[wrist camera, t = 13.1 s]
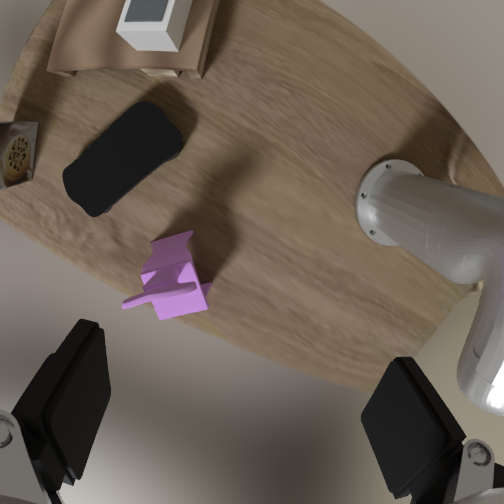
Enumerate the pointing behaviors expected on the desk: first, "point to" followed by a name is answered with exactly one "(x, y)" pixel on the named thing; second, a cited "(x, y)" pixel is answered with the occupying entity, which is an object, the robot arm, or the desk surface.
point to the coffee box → (16, 152)
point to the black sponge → (122, 158)
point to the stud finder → (154, 24)
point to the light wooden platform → (118, 49)
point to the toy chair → (171, 279)
